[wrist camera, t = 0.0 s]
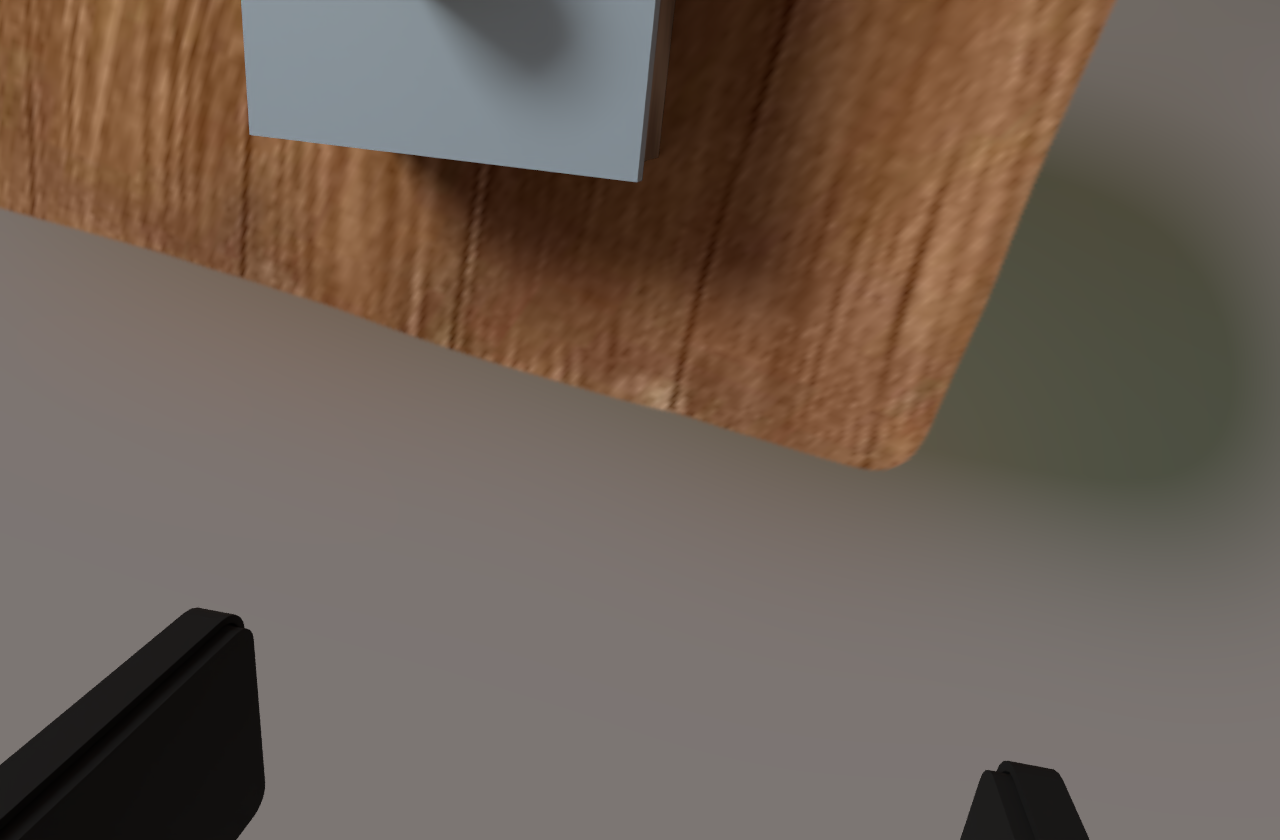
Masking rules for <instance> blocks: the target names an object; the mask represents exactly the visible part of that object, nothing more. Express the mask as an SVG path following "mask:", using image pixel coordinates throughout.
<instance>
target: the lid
mask: <svg viewBox="0 0 1280 840" xmlns="http://www.w3.org/2000/svg"><path fill="white" fill-rule="evenodd" d="M660 1H661V0H241V5H242V20H243V36H244V52H245V68H246V84H247V99H248V115H249V131H250V135H255V136H264V137H272V138H280V139H288V140H296V141H304V142H312V143H321V144H329V145H337V146H345V147H353V148H361V149H370V150H378V151H386V152H394V153H402V154H410V155H418V156H427V157H435V158H443V159H451V160H459V161H467V162H476V163H484V164H492V165H500V166H508V167H516V168H524V169H533V170H541V171H549V172H557V173H565V174H573V175H582V176H590V177H598V178H606V179H614V180H622V181H631V182H639V181H642V177H643V167H644V157H645V148H646V138H647V128H648V118H649V109H650V99H651V89H652V79H653V70H654V60H655V50H656V40H657V31H658V21H659V11H660Z"/></svg>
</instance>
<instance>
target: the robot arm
mask: <svg viewBox="0 0 1280 840" xmlns="http://www.w3.org/2000/svg"><path fill="white" fill-rule="evenodd" d="M264 790H265V776H264V764H263V751H262V738H261V726H260V713H259V701H258V688H257V677H256V663H255V651H254V639H253V634H252V632H251V631H250V630H248V629H245V628H244V624H243V621H242V619H241V618H240V617H239V616H237V615H234V614H229V613H223V612H218V611H213V610H207V609H202V608H192V609H190V610H189V611H187V612H185V613H184V614H183V615H181V616H180V617H179V618H178V619H176V620H175V621H174V622H173V623H172V624H170V625H169V626H168V627H167V628H165V629H164V630H163V631H162V632H161V633H159V634H158V635H157V636H156V637H154V638H153V639H152V640H151V641H150V642H148V643H147V644H146V645H145V646H144V647H142V648H141V649H140V650H139V651H138V652H136V653H135V654H134V655H133V656H131V657H130V658H129V659H128V660H127V661H125V662H124V663H123V664H122V665H121V666H119V667H118V668H117V669H116V670H115V671H113V672H112V673H111V674H110V675H109V676H107V677H106V678H105V679H104V680H102V681H101V682H100V683H99V684H98V685H96V686H95V687H94V688H93V689H92V690H90V691H89V692H88V693H87V694H86V695H84V696H83V697H82V698H81V699H79V700H78V701H77V702H76V703H75V704H73V705H72V706H71V707H70V708H69V709H68V710H66V711H65V712H64V713H63V714H61V715H60V716H59V717H58V718H56V719H55V720H54V721H53V722H52V723H50V724H49V725H48V726H47V727H46V728H44V729H43V730H42V731H41V732H40V733H38V734H37V735H36V736H35V737H34V738H32V739H31V740H30V741H29V742H28V743H26V744H25V745H24V746H23V747H21V748H20V749H19V750H18V751H17V752H15V753H14V754H13V755H12V756H11V757H9V758H8V759H7V760H6V761H4V762H3V763H2V764H1V765H0V840H236V839H237V838H238V837H239V835H240V834H241V833H242V831H243V830H244V828H245V827H246V826H247V825H248V823H249V822H250V821H251V819H252V818H253V817H254V815H255V814H256V812H257V810H258V808H259V806H260V804H261V802H262V799H263V795H264ZM960 840H1089V837H1088V835H1087V833H1086V831H1085V829H1084V826H1083V824H1082V822H1081V820H1080V817H1079V815H1078V813H1077V811H1076V809H1075V806H1074V804H1073V802H1072V799H1071V797H1070V795H1069V793H1068V791H1067V788H1066V786H1065V784H1064V781H1063V780H1062V778H1061V776H1060V774H1059V773H1058V772H1056V771H1055V770H1054V769H1048V768H1043V767H1038V766H1032V765H1027V764H1022V763H1016V762H1011V761H1003V762H1002V763H1001V764H1000V765H999V767H998V769H997V771H996V772H995V771H990V770H985V772H983V774H982V776H981V778H980V781H979V784H978V787H977V790H976V793H975V796H974V800H973V802H972V805H971V808H970V812H969V815H968V818H967V821H966V824H965V827H964V830H963V833H962V836H961V839H960Z"/></svg>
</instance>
